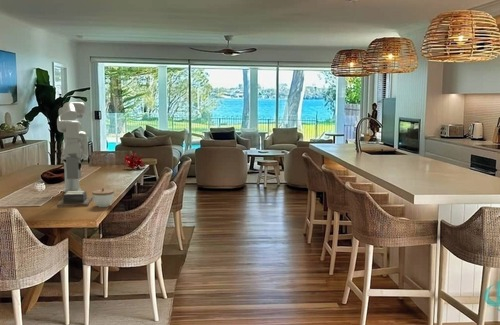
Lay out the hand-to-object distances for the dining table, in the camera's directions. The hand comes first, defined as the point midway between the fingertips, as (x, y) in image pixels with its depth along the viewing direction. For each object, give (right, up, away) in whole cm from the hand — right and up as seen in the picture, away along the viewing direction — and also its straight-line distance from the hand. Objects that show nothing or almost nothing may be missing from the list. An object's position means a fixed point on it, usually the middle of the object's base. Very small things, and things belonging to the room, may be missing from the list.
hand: (73, 169), depth 303 cm
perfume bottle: (0, -6, +1) cm, 6 cm away
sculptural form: (0, -2, +151) cm, 151 cm away
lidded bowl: (+20, -23, -4) cm, 31 cm away
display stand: (0, -22, +3) cm, 22 cm away
